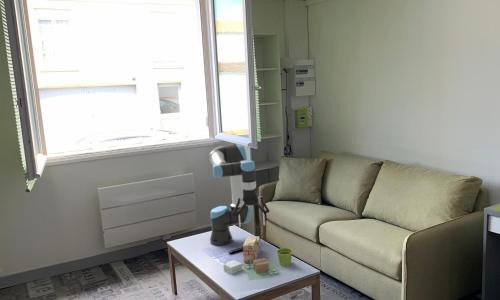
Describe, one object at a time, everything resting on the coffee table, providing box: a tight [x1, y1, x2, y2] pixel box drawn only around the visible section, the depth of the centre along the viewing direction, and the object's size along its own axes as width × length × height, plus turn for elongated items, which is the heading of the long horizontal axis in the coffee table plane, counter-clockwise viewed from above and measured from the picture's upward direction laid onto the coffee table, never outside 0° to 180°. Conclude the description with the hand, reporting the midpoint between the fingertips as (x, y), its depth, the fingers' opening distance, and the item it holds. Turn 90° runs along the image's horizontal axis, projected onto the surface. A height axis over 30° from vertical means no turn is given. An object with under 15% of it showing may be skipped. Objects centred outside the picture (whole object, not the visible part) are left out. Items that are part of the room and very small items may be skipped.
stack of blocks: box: [242, 235, 262, 264], centre depth 254 cm, size 21×6×12 cm, turn 169°
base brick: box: [253, 257, 269, 273], centre depth 234 cm, size 7×7×5 cm
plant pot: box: [275, 247, 294, 267], centre depth 240 cm, size 9×9×9 cm
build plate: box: [242, 259, 283, 281], centre depth 235 cm, size 20×18×2 cm
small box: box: [223, 259, 243, 275], centre depth 237 cm, size 8×8×5 cm
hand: (252, 225), depth 235 cm, fingers open, 13 cm apart
